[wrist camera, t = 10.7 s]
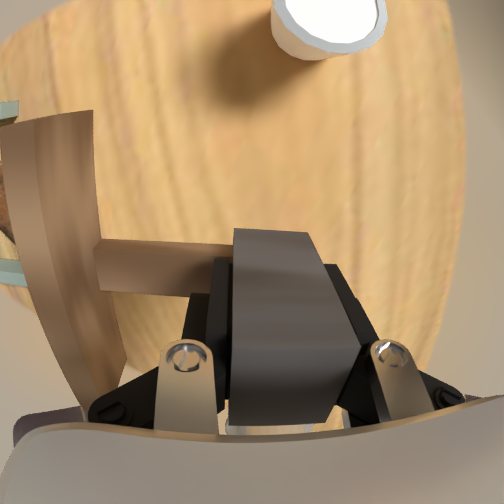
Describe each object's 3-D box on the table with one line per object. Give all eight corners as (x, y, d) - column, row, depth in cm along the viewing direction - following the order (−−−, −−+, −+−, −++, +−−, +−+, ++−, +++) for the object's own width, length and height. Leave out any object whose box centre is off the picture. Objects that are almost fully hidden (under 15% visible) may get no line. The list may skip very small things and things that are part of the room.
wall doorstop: (280, 368, 16) (296, 472, 10) (103, 355, 15) (70, 449, 10) (324, 115, 10) (421, 139, 4) (62, 113, 9) (-59, 145, 4)
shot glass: (243, 20, 18) (246, -14, 11) (311, -20, 16) (336, -57, 10) (301, 84, 20) (327, 75, 14) (365, 42, 18) (408, 25, 12)
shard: (41, 257, 26) (33, 266, 24) (-5, 252, 25) (-13, 259, 24) (28, 154, 21) (17, 158, 20) (-19, 159, 21) (-30, 163, 19)
